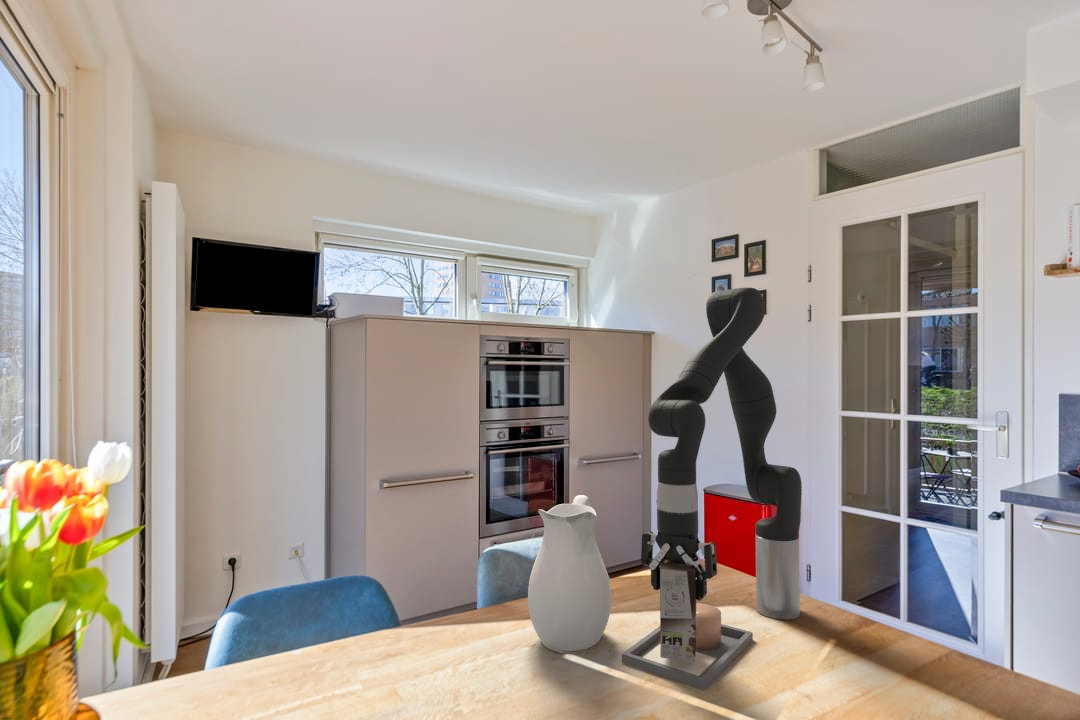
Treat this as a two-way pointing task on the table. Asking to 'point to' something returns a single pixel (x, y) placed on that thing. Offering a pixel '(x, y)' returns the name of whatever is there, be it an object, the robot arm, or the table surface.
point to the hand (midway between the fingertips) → (678, 593)
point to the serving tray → (689, 672)
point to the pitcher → (569, 580)
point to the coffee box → (677, 611)
